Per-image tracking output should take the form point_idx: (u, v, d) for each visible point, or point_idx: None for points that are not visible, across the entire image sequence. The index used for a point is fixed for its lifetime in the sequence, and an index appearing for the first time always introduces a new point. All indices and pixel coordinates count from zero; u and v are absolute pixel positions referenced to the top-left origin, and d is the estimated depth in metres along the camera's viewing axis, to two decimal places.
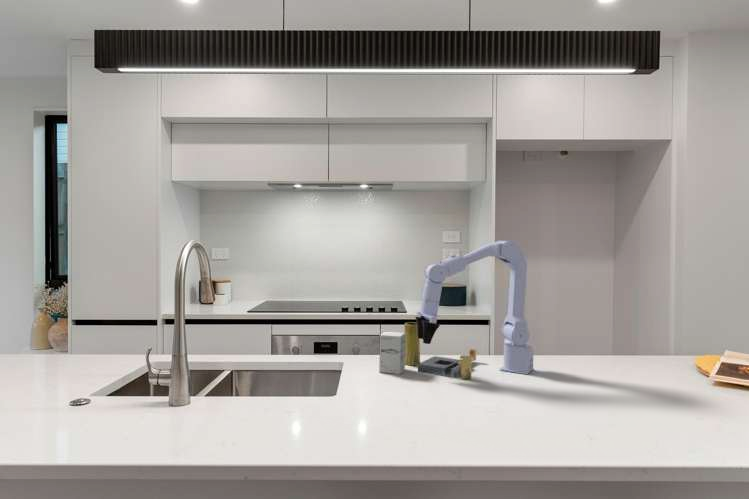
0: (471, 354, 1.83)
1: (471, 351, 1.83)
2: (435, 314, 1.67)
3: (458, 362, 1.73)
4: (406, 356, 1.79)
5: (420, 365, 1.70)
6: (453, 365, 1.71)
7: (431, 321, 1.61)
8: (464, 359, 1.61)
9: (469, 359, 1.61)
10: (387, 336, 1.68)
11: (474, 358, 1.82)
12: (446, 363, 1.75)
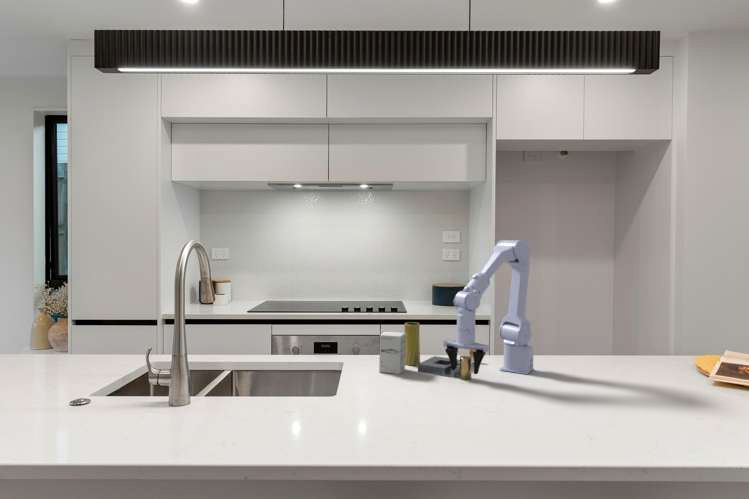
0: (471, 354, 1.83)
1: (471, 351, 1.83)
2: None
3: (458, 362, 1.73)
4: (406, 356, 1.79)
5: (420, 365, 1.70)
6: None
7: (486, 350, 1.58)
8: (464, 359, 1.61)
9: (469, 359, 1.61)
10: (387, 336, 1.68)
11: None
12: (446, 363, 1.75)
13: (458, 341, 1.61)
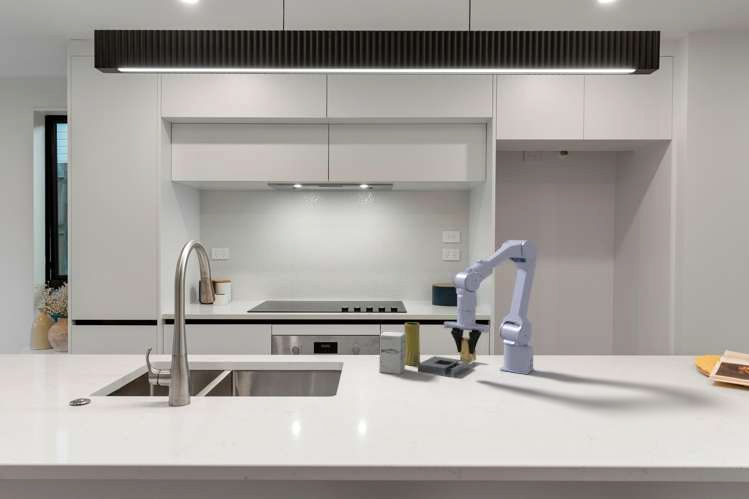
0: None
1: None
2: None
3: (458, 362, 1.73)
4: (406, 356, 1.79)
5: (420, 365, 1.70)
6: (453, 365, 1.71)
7: (487, 331, 1.58)
8: (465, 341, 1.61)
9: None
10: (387, 336, 1.68)
11: (474, 358, 1.82)
12: (446, 363, 1.75)
13: (459, 322, 1.61)
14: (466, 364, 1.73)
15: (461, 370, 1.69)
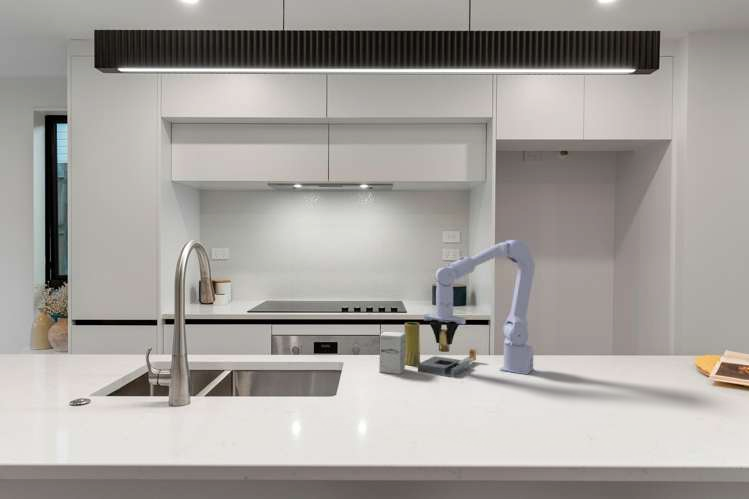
0: (471, 354, 1.83)
1: (471, 351, 1.83)
2: None
3: (458, 362, 1.73)
4: (406, 356, 1.79)
5: (420, 365, 1.70)
6: (453, 365, 1.71)
7: (463, 323, 1.68)
8: (442, 332, 1.71)
9: None
10: (387, 336, 1.68)
11: (474, 358, 1.82)
12: (446, 363, 1.75)
13: (437, 314, 1.71)
14: (466, 364, 1.73)
15: (461, 370, 1.69)
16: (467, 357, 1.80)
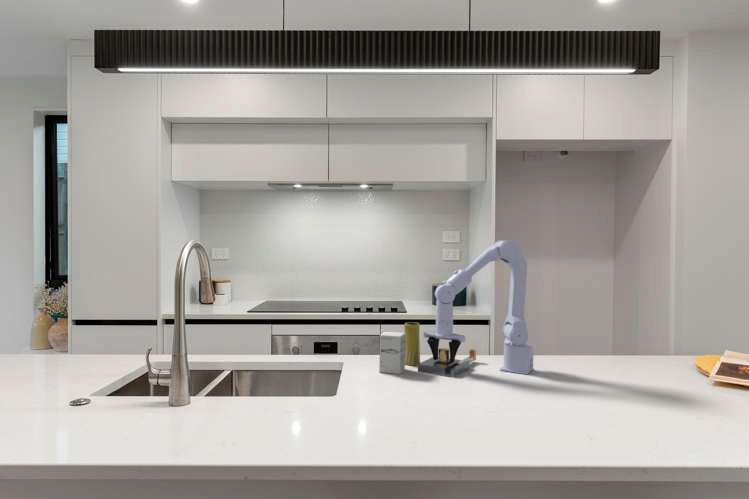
0: (471, 354, 1.83)
1: (471, 351, 1.83)
2: None
3: (458, 362, 1.73)
4: (406, 356, 1.79)
5: (420, 365, 1.70)
6: (453, 365, 1.71)
7: (463, 340, 1.68)
8: (442, 351, 1.71)
9: (447, 351, 1.71)
10: (387, 336, 1.68)
11: (474, 358, 1.82)
12: None
13: (437, 332, 1.71)
14: (466, 364, 1.73)
15: (461, 370, 1.69)
16: (467, 357, 1.80)
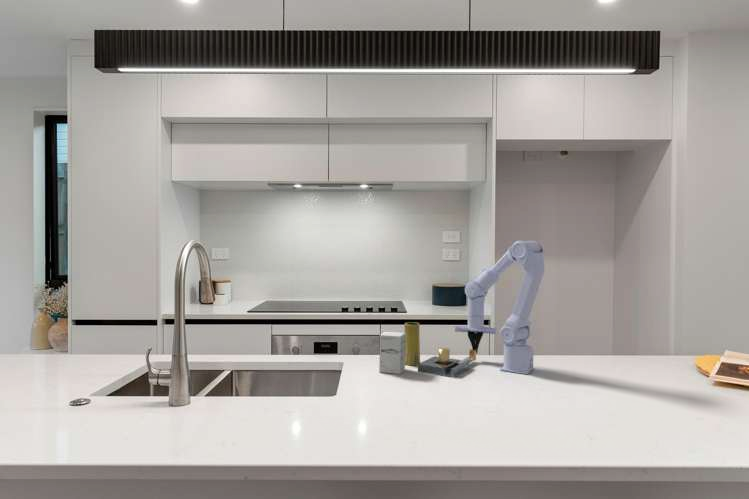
0: (471, 354, 1.83)
1: (471, 351, 1.83)
2: None
3: (458, 362, 1.73)
4: (406, 356, 1.79)
5: (420, 365, 1.70)
6: (453, 365, 1.71)
7: (495, 333, 1.82)
8: (442, 351, 1.71)
9: (447, 351, 1.71)
10: (387, 336, 1.68)
11: (474, 358, 1.82)
12: None
13: (470, 326, 1.83)
14: (466, 364, 1.73)
15: (461, 370, 1.69)
16: (467, 357, 1.80)
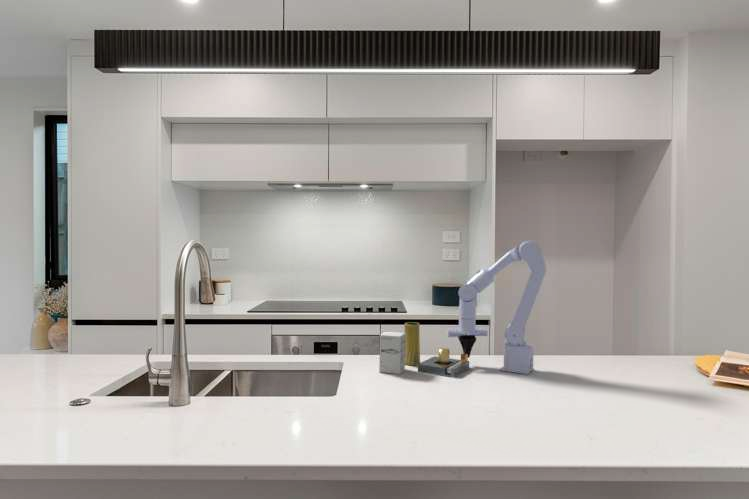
0: (462, 359, 1.76)
1: (462, 356, 1.76)
2: None
3: (448, 367, 1.67)
4: (406, 356, 1.79)
5: (420, 365, 1.70)
6: None
7: None
8: (442, 351, 1.71)
9: (447, 351, 1.71)
10: (387, 336, 1.68)
11: None
12: None
13: (465, 330, 1.76)
14: (466, 364, 1.73)
15: (461, 370, 1.69)
16: (458, 362, 1.74)
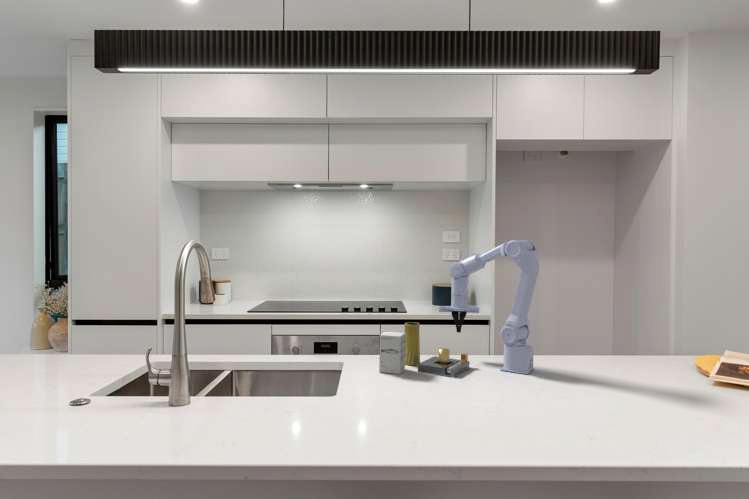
0: (462, 359, 1.76)
1: (462, 355, 1.76)
2: None
3: (448, 367, 1.67)
4: (406, 356, 1.79)
5: (420, 365, 1.70)
6: None
7: None
8: (442, 352, 1.71)
9: (447, 352, 1.71)
10: (387, 336, 1.68)
11: None
12: None
13: (454, 305, 1.86)
14: (466, 364, 1.73)
15: (461, 370, 1.69)
16: (458, 362, 1.74)
